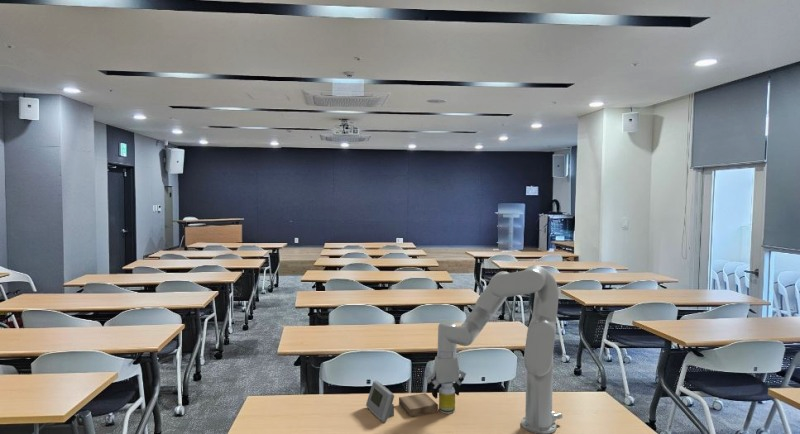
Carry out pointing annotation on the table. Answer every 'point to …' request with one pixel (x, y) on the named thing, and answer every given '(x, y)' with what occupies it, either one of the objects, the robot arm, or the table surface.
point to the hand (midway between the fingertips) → (445, 395)
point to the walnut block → (418, 405)
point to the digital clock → (380, 401)
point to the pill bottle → (447, 398)
